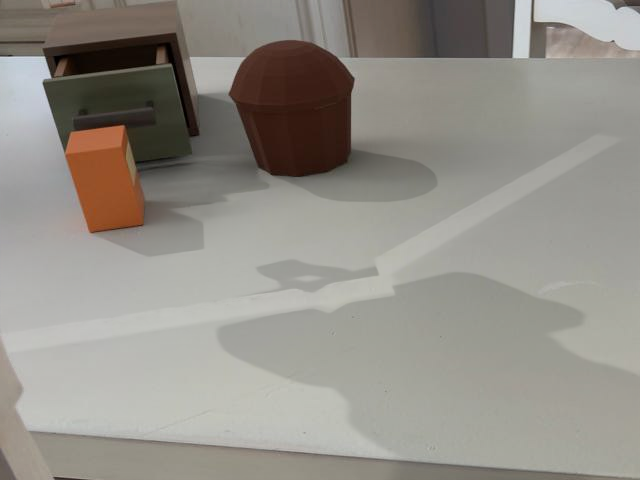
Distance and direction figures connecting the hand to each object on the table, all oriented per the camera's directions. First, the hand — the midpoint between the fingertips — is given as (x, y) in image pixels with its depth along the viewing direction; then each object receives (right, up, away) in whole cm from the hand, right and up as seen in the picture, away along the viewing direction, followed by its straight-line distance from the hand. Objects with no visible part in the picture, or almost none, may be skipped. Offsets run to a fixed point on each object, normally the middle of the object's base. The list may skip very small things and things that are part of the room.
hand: (62, 5), depth 79 cm
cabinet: (-4, +4, +30) cm, 31 cm away
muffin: (+16, -6, +17) cm, 24 cm away
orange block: (+1, -14, +9) cm, 16 cm away
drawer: (-1, -3, +21) cm, 21 cm away
